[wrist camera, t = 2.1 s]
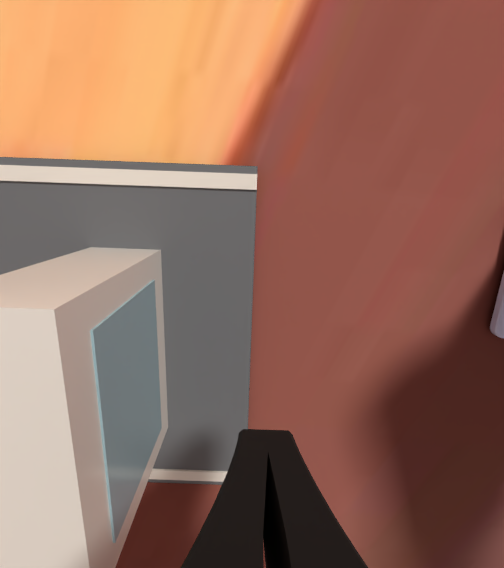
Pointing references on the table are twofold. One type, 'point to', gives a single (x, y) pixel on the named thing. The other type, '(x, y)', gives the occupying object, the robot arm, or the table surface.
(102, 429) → the white rectangular block
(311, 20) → the table surface
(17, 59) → the table surface
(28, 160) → the mat
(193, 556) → the robot arm
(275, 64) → the table surface
